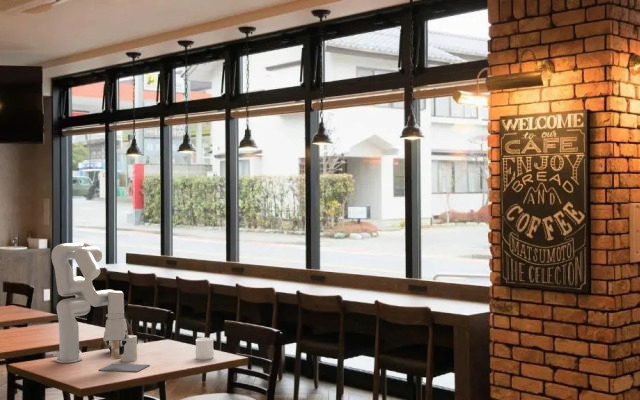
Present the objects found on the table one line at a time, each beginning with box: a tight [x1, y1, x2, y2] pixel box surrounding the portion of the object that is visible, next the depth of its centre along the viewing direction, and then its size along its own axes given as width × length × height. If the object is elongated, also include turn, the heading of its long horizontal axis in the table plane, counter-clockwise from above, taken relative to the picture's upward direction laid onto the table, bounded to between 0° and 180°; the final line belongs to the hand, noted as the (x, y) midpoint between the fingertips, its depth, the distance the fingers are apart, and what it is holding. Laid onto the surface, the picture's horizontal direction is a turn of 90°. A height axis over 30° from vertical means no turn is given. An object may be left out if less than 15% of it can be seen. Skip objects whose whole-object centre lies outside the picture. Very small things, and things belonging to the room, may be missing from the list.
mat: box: [98, 363, 151, 373], centre depth 381 cm, size 20×14×1 cm
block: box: [110, 340, 123, 360], centre depth 382 cm, size 4×4×10 cm
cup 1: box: [120, 334, 138, 363], centre depth 401 cm, size 8×8×12 cm
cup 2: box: [195, 337, 215, 361], centre depth 403 cm, size 10×10×10 cm
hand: (117, 353), depth 382 cm, fingers closed on block, 4 cm apart
